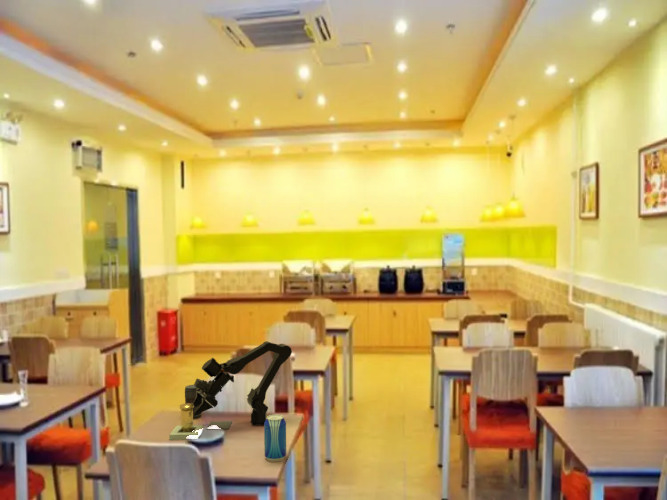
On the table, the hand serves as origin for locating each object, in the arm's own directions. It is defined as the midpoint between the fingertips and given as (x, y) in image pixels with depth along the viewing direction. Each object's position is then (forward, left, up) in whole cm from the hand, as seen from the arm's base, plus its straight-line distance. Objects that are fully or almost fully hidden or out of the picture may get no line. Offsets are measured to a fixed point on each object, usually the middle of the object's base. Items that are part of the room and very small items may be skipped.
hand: (193, 411), depth 240 cm
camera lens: (+6, -24, -10) cm, 26 cm away
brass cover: (+3, +1, -10) cm, 10 cm away
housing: (+3, +1, -10) cm, 10 cm away
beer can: (-38, +29, -10) cm, 49 cm away
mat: (-9, -10, -10) cm, 17 cm away
